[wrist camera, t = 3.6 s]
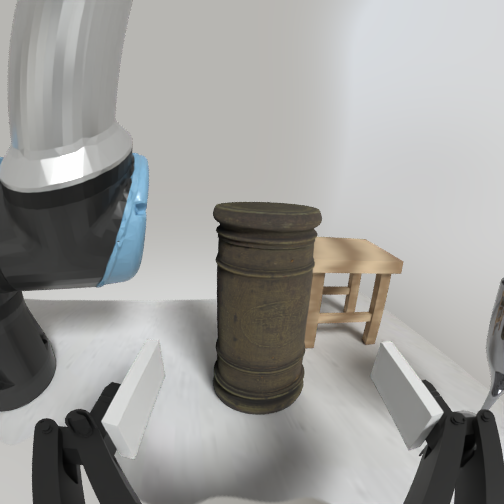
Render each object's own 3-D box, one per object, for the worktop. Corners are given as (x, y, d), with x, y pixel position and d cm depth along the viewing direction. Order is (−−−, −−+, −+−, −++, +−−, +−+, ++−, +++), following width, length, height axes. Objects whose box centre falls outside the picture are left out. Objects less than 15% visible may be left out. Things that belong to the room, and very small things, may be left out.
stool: (296, 352, 32) (308, 258, 28) (285, 308, 43) (291, 235, 40) (382, 346, 32) (403, 261, 29) (354, 308, 43) (365, 239, 40)
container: (317, 383, 26) (345, 210, 21) (260, 431, 19) (278, 216, 15) (255, 350, 32) (263, 199, 27) (196, 382, 25) (187, 203, 21)
